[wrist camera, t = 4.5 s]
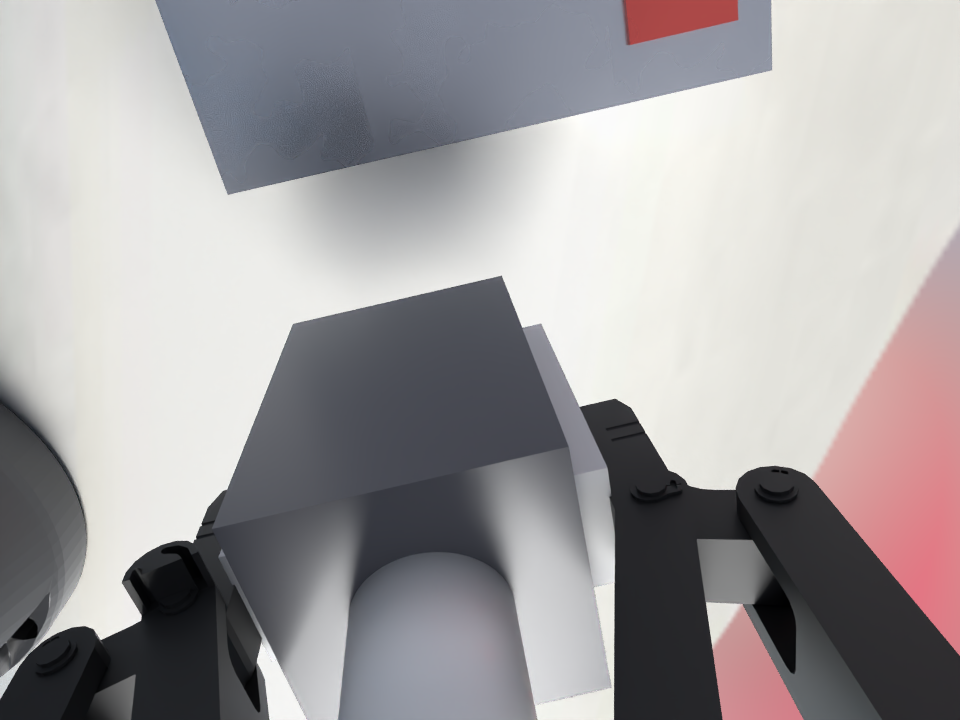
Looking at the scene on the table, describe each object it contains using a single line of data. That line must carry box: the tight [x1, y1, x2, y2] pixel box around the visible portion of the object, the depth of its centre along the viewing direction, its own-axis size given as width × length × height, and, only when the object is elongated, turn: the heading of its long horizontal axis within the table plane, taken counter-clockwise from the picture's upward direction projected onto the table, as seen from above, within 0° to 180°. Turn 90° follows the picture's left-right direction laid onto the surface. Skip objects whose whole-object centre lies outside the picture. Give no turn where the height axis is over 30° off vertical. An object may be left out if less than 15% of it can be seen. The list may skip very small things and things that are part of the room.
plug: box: [212, 276, 612, 720], centre depth 14 cm, size 6×6×11 cm
